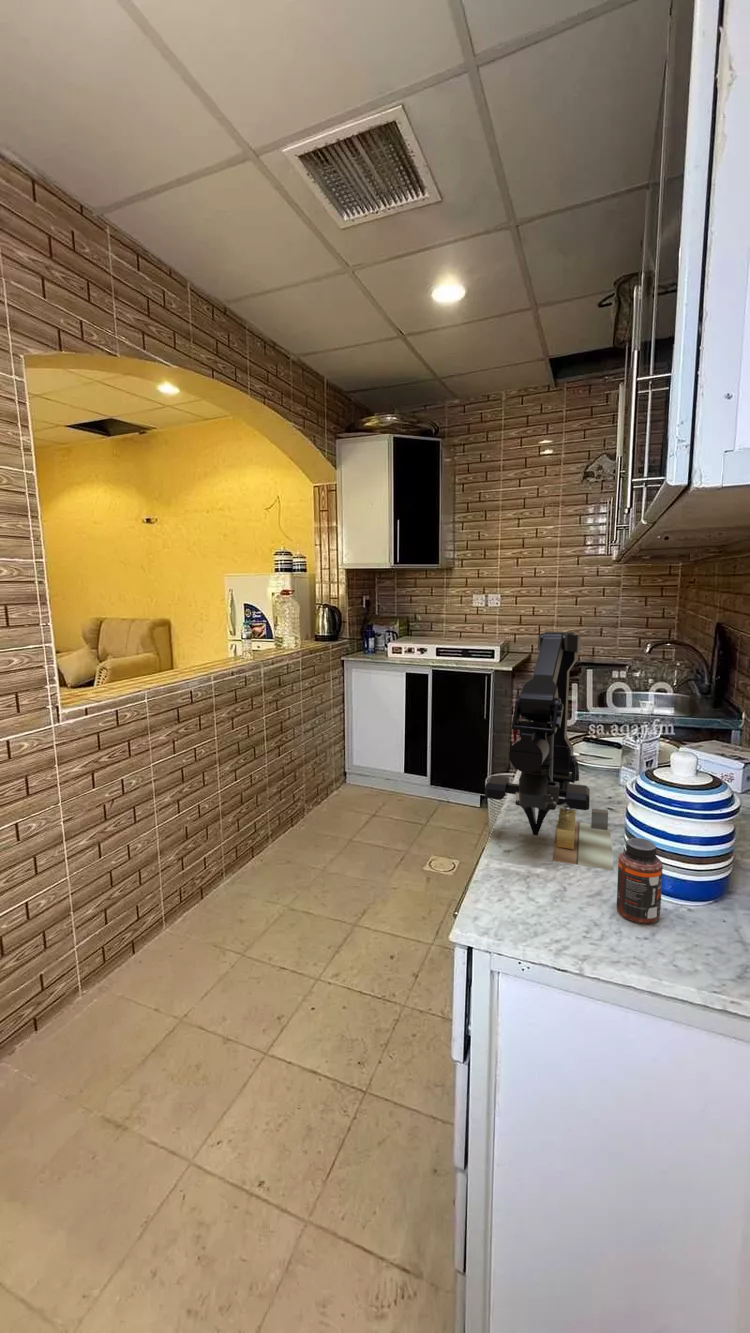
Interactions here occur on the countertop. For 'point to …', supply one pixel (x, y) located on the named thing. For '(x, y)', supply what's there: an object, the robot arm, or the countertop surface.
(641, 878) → the supplement bottle
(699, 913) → the countertop surface
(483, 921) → the countertop surface
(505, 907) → the countertop surface
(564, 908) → the countertop surface
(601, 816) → the stop block
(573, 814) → the latch bar
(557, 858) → the door board
